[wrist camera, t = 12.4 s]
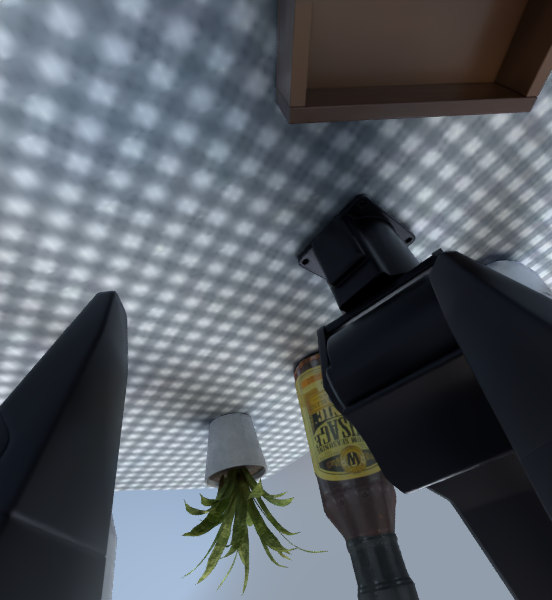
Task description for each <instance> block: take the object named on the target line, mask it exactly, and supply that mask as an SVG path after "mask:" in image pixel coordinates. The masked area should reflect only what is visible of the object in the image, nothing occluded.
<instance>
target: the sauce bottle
mask: <svg viewBox="0 0 552 600" xmlns="http://www.w3.org/2000/svg"><path fill="white" fill-rule="evenodd" d="M294 378H295V386H296V391H297V396H298V400H299V404H300V408H301V413H302V417H303V422H304V426H305V431H306V435H307V440H308V444H309V448H310V453H311V457H312V462H313V467H314V471H315V475H316V477H317V480H318V484H319V489H320V494H321V498H322V503H323V507H324V512H325V513H326V516H327V517H328V518H329V519H330V521H331V522H332V523H333V524H334V526H335V527H336V528H337V529H338V530H339V532H340V533H341V534H342V535H343V537H344V538H345V540H346V546H347V549H348V552H349V553H350V556H351V560H352V564H353V568H354V572H355V576H356V580H357V584H358V600H419V598H418V595H417V591H416V588H415V584H414V582H413V581H412V579H411V578H410V577H409V575H408V573H407V570H406V567H405V564H404V561H403V558H402V555H401V551H400V549H399V545H398V543H397V536H396V534H395V507H396V506H395V505H396V493H395V490H394V486H393V484H392V483H390V482H389V481H388V480H387V479H386V478H385V477H384V475H383V473H382V471H381V469H380V468H379V466H378V464H377V462H376V460H375V458H374V457H373V455H372V453H371V451H370V450H369V448H368V446H367V445H366V443H365V441H364V440H363V439H362V437H361V436H360V434H359V433H358V431H357V430H356V429H355V428H354V426H353V425H352V424H351V423H350V422H349V421H348V420H346V419H345V418H344V417H343V416H342V415H341V414H340V412H339V411H338V410H337V408H336V407H335V406H334V404H333V403H331V401H330V400H329V398H328V394H327V393H326V391H325V390H324V387H323V380H322V373H321V364H320V355H319V353H317V354H315V355H313V356H310V357H308V358H305V359H303V360H302V361H301V362H300V363H299V364H298V367H297V368H296V370H295V373H294Z"/></svg>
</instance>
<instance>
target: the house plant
mask: <svg viewBox="0 0 552 600" xmlns="http://www.w3.org/2000/svg"><path fill="white" fill-rule="evenodd" d="M267 471H268V468H267V465H266V462H265V459H264V456H263V453H262V450H261V447H260V444H259V441H258V438H257V435H256V432H255V429H254V426H253V423H252V420H251V417H250V416H248V415H246V414H241V413H233V414H227V415H223V416H220V417H218V418H216V419H214V420H213V421H212V422H211V424H210V428H209V439H208V450H207V461H206V473H205V483H206V485H208V486H210V487H215V488H218V493H217V497H216V499H215V500H214V499H207V498H205V497H203V496H202V495H201V494H200V495H201V501H202V502H201V503H202V504H203V505H204V506H211V508H210V509H208V510H207V511H203V510H198V509H195V508H192V507H190V506H189V505H188V504H186V502H185V506H186V510H187V511H188V512H189V513H190V514H192V515H202V514H205V513H208V512H209V511H210V512H209V513H208V515H207V517H206V518H205V519H204V520H203V521H202V522H201V523H200V524H199V525H197V526H196V527H194V528H193V529H192V530H191V532H188V533H185V534H184V535H183V536H199V535H202V534H205V533H206V532H208V531H210V530H211V529H212V528H214V527H215V526H217V525H218V524H220V523H222V524H221V527H220V529H219V531H218V533H217V536H216V538H215V540H214V542H213V544H212V546H211V548H210V549H209V551H208V553H209V552H210V550H211V549H212V547H213V546H214V545H215V543H216V541H217V543H216V545H215V547H214V549H213V551H212V553H211V555H210V557H209V559H208V564H207V567H206V571H205V572H204V574H203V576H202V577H201V578H200V579H199V581H198V583H199V582H201V581H202V580H204V579H205V578H206V577H207V576H208V575H209V574H210V573H211V572H212V570H213V569H214V567H215V566H216V564H217V562H218V560H219V558H220V556H221V554H222V552H223V550H224V548H225V547H229V546H230V545H232V546H231V548H230V550H229V552H228V553H227V554H226V555H225V556H224V557H227V556H229V555H231V554H232V553H234V552H235V551H236V550H237V552H238V551H239V555H240V558H241V560H242V562H243V564H244V565H245V581H244V588H243V593H244V590H245V588H246V584H247V580H248V573H249V539H248V529H247V525H248V526H252V525H253V524H254V526H255V529H256V531H257V534H258V535H259V537H260V539H261V542H262V544H263V546H264V549H265V551H266V553H267V555H268V556H269V558H270V559H271V561H273V562H274V563H275V564H276V565H278V566H281V565H279V564H278V563H277V562H276V561H275V560H274V559H273V557H272V556H271V554H270V552H269V550H268V547H267V546H269V547H270V548H271V549H273V550H276V551H277V552H278V553H279V554H280V555H281V556H282V557H284V558H287V559H289V558H288V557H287V556H285V555H283V554H282V552H286V553H288V554H290V553H289V552H288V551H291V550H294V549H290V550H288V549H285V548H284V547H283V546H282V545H281V544H280V542H279V541H278V539H277V538H276V537H275V536H274V534H273V533H272V532H271V531H270V530H269V529H268V527H267V526H266V524H265V522H264V520H263V518H262V517H261V515H260V513H259V511H258V509H257V508H256V506H255V503H254V501H253V499H254V498H256V499H257V501H258V503H259V504H260V506H261V508H262V509H263V511H264V512H265V513H264V512H263V513H264V515H265V514H266V515H267V516H266V517H267V519H268V520H269V521H270V522H271V523H272V524H273V526H274V527H275V528H276V529H277V530H278V531H279V532H282V533H283V534H286V535H294V534H297V533H290V532H289V531H287V530H286V529H284V528H283V527H282V526H281V525H280V524H279V523H278V522H277V521H276V520H275V518H274V517H273V516H272V515H271V513H270V512H269V510H268V509H267V507H266V505H265V504H264V502H263V501H262V499H261V496H263V497H264V498H265V499H267V500H268V501H269V502H270V503H272V504H274V505H277V506H286V505H288V504H290V503H291V501H292V500H293V498H294V497H293V498H290V499H285V500H279V499H274V498H276V497H280V496H282V495H284V494H285V493H286V492H285V493H282V494H279V495H269V494H268V493H267V492H265V491H264V490H263V488H262V485H261V477H263V476H264V475H265V474H266V473H267ZM258 479H260V481H259V483H258V484H257V482H256V481H255V480H258ZM249 487H250V488H249ZM250 489H251V490H252V492H251V491H250ZM252 497H253V498H252ZM254 500H255V499H254ZM255 502H256V501H255ZM256 504H257V502H256ZM257 505H258V504H257ZM258 507H259V506H258ZM259 508H260V507H259ZM261 508H260V509H261ZM262 509H261V511H262ZM222 514H223V515H222ZM234 514H235V519H234V525H233V534H232V541H231V544H230V545H228V546H226V544H227V542H228V539H229V536H230V532H231V525H232V521H233V518H234ZM284 538H285V537H284ZM285 539H286V538H285ZM295 547H297V546H295ZM297 548H298V547H297ZM295 549H296V548H295ZM301 550H302V549H301ZM303 551H306V550H303ZM306 552H311V551H306ZM320 552H323V551H320ZM324 552H325V551H324ZM208 553H207V554H208ZM312 553H317V552H312ZM207 554H206V556H207ZM236 555H237V554H236ZM206 556H205V557H204V559H205V558H206ZM224 557H222V558H224ZM204 559H203V560H204ZM220 559H221V558H220ZM235 559H236V556H235ZM235 559H234V562H235ZM203 560H202V561H203ZM289 560H290V559H289ZM202 561H201V562H202ZM234 562H233V564H232V566H233V565H234ZM200 564H201V563H199V565H200ZM199 565H198V566H199ZM232 566H231V568H230V570H229V572H230V571H231V569H232ZM281 567H284V566H281ZM195 569H196V568H195ZM195 569H194V570H195ZM192 571H193V570H192ZM192 571H191V572H192ZM191 572H190V573H191ZM229 572H228V573H227V575H228V574H229ZM190 573H188V574H190ZM188 574H187V575H188ZM227 575H226V577H227ZM185 576H186V575H185ZM226 577H225V578H224V580H225V579H226ZM224 580H223V581H224ZM223 581H222V583H223ZM222 583H221V584H222ZM221 584H220V585H221Z"/></svg>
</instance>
